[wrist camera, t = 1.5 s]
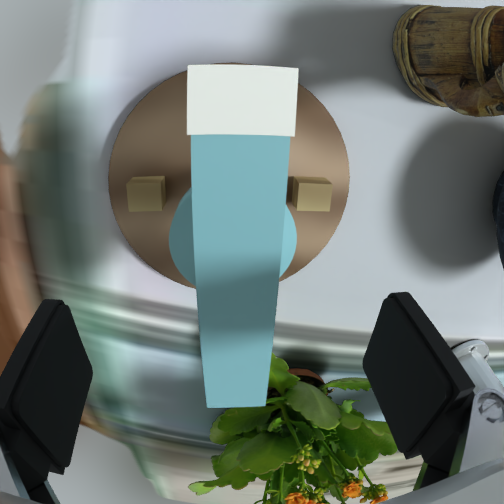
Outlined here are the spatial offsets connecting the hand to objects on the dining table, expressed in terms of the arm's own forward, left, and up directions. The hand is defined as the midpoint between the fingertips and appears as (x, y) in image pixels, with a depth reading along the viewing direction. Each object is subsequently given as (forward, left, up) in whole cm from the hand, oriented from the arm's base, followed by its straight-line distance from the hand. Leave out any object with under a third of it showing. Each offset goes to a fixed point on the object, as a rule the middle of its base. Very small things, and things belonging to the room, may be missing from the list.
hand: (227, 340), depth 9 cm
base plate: (0, 0, -17) cm, 17 cm away
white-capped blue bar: (0, 0, -9) cm, 9 cm away
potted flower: (-24, -7, -17) cm, 31 cm away
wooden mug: (+11, -15, -17) cm, 25 cm away
